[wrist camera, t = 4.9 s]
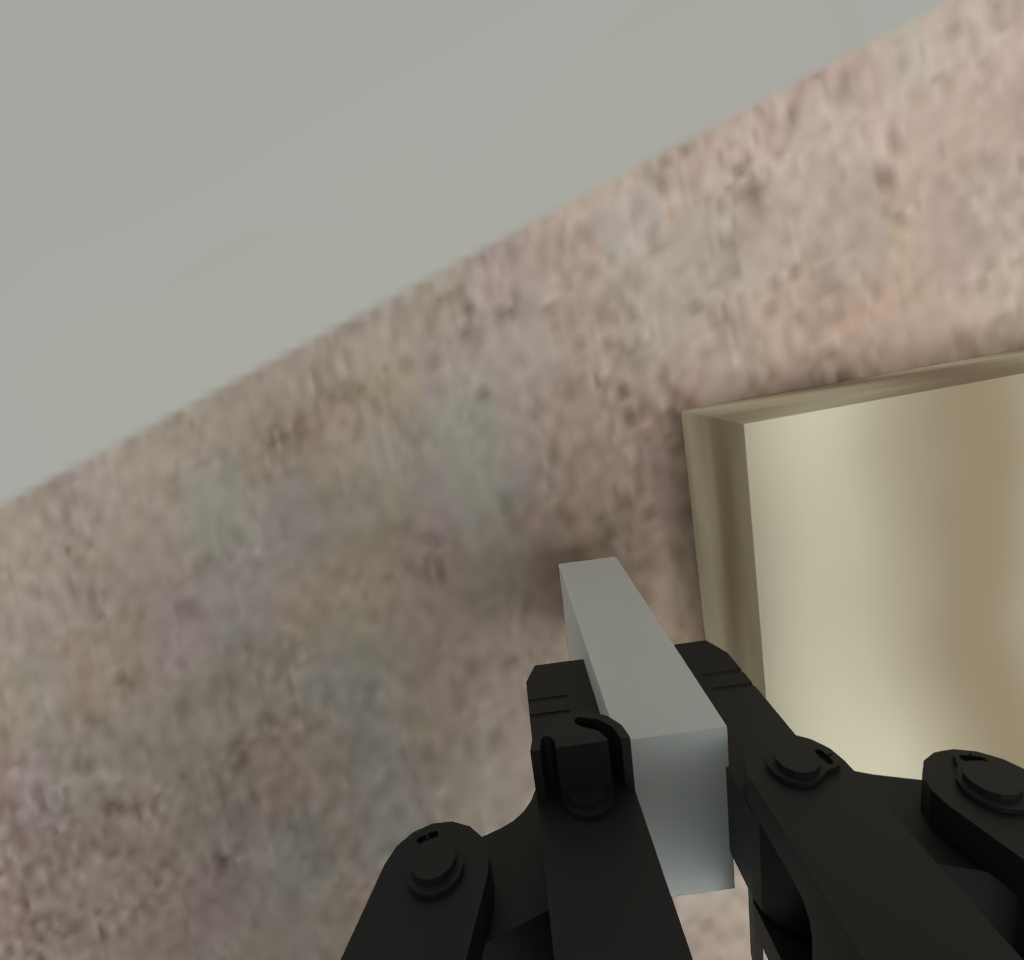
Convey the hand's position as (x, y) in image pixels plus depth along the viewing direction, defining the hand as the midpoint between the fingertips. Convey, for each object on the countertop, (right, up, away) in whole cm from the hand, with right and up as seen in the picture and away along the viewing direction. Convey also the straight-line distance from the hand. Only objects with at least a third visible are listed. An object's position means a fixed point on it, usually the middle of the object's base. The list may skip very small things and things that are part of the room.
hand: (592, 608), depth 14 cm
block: (+8, +1, +2) cm, 9 cm away
